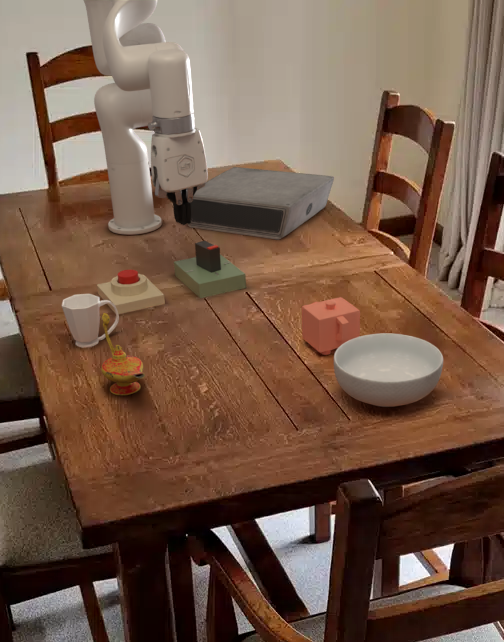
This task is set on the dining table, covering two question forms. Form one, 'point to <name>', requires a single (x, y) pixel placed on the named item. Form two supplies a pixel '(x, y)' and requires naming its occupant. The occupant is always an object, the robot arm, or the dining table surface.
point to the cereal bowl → (387, 368)
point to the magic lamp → (121, 368)
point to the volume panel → (209, 277)
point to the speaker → (259, 201)
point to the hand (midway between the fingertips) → (183, 222)
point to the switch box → (131, 294)
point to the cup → (85, 318)
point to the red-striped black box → (208, 256)
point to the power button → (128, 277)
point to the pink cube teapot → (330, 324)
